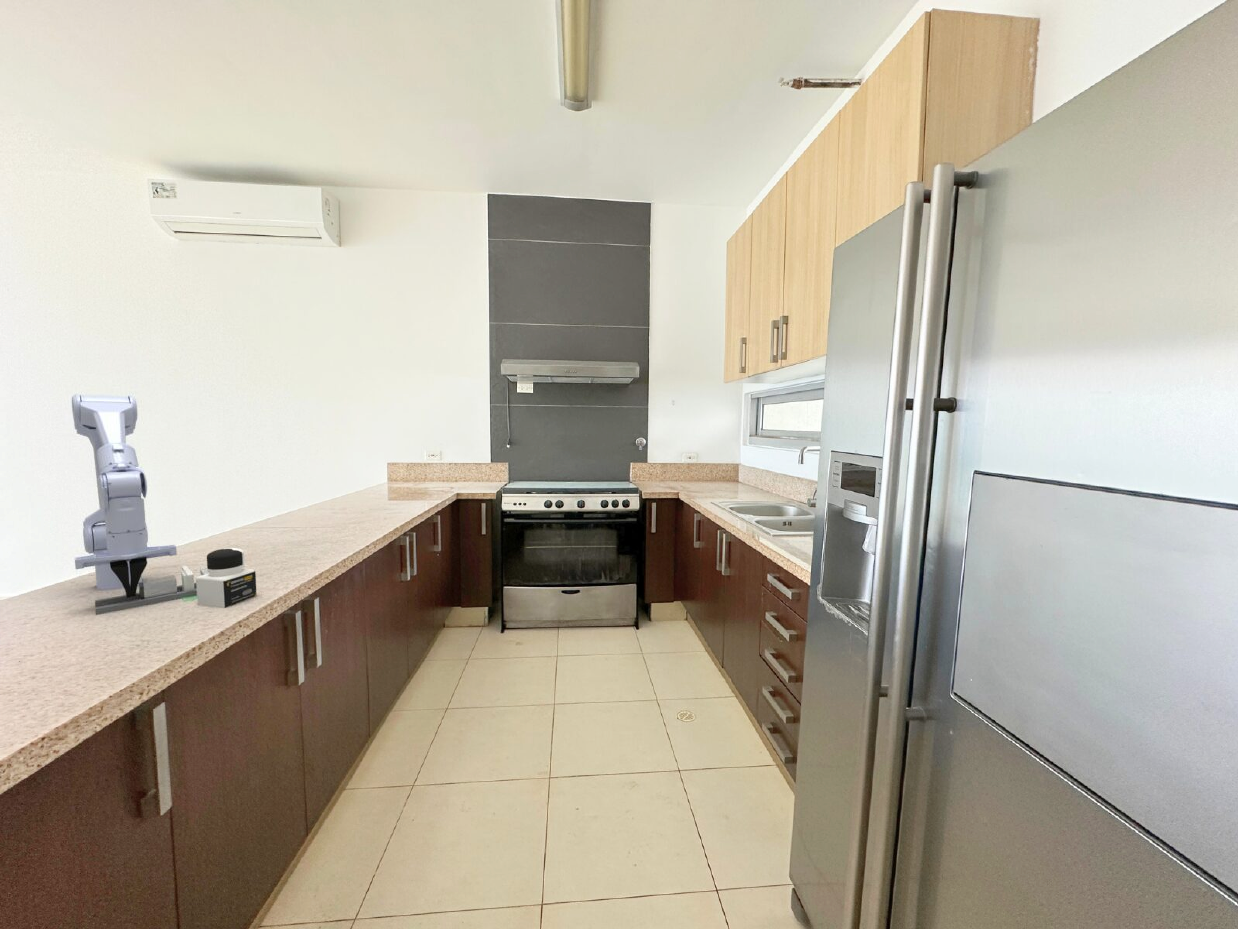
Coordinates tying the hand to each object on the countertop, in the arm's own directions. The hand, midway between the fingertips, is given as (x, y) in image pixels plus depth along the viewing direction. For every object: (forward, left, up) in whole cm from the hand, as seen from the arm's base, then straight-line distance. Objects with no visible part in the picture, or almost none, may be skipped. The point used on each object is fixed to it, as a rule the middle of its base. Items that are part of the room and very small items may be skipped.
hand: (131, 595), depth 101 cm
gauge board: (0, +4, -3) cm, 5 cm away
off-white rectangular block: (0, +9, -2) cm, 9 cm away
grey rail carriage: (0, +4, -2) cm, 5 cm away
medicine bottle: (+11, +14, -3) cm, 18 cm away
